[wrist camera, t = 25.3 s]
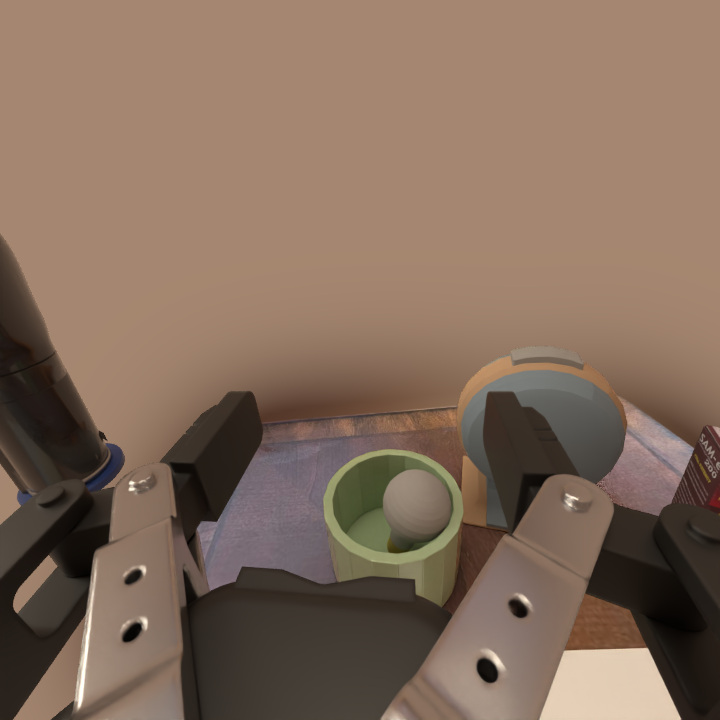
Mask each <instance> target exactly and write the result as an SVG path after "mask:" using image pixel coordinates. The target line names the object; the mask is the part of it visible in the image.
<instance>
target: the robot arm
mask: <svg viewBox="0 0 720 720" xmlns="http://www.w3.org/2000/svg"><path fill="white" fill-rule="evenodd" d="M262 435H263V428H262V423H261V420H260V416H259V412H258V408H257V404H256V400H255V396H254V394H253V393H252V392H250V391H243V392H242V391H237V392H236V391H231V392H228V393H227V394H226V395H225V397H224V398H223V399H222V400H221V401H220V403H219V404H218V405H215V406H213V407H212V408H210V409H209V410H207V411H206V412H204V413H202V414H201V415H200V417H199V418H198V419H197V420H196V421H195V422H194V424H193V426H191V427H190V428H189V429H188V430H187V431H186V434H184V435H183V436H182V437H181V438H180V439H179V440H178V441H177V443H176V444H175V445H174V446H173V447H172V448H171V449H170V450H169V452H168V453H167V454H166V455H165V456H164V457H163V458H162V460H161V461H160V462H159V463H151V464H147V465H144V466H141V467H139V468H137V469H135V470H133V471H131V472H130V473H128V474H127V475H125V476H124V477H123V478H122V479H121V480H120V481H119V482H118V483H117V485H116V486H115V487H112V488H107V489H102V490H98V491H93V492H90V491H89V490H88V488H87V486H86V484H88V483H90V482H91V481H93V480H94V479H95V478H97V477H98V476H99V475H100V474H102V473H103V472H104V471H105V470H106V468H107V467H108V466H109V464H110V462H111V460H112V454H111V452H110V450H109V448H108V447H107V446H106V444H105V442H104V440H103V439H105V440H107V439H106V437H105V435H104V433H102V432H100V431H99V430H98V429H97V427H96V425H95V423H94V421H93V419H92V417H91V416H90V414H89V412H88V410H87V408H86V406H85V404H84V402H83V400H82V399H81V397H80V395H79V393H78V391H77V389H76V387H75V386H74V383H73V382H72V380H71V378H70V376H69V374H68V372H67V370H66V369H65V367H64V365H63V363H62V361H61V359H60V357H59V355H58V354H57V351H56V350H55V348H54V346H53V344H52V342H51V340H50V337H49V333H48V330H47V326H46V323H45V320H44V318H43V316H42V314H41V312H40V310H39V308H38V306H37V303H36V301H35V299H34V297H33V295H32V292H31V290H30V288H29V286H28V283H27V281H26V279H25V276H24V274H23V272H22V269H21V267H20V265H19V263H18V261H17V259H16V257H15V255H14V253H13V252H12V250H11V248H10V246H9V245H8V243H7V242H6V240H5V239H4V238H3V237H2V235H1V234H0V464H1V465H2V467H3V468H4V469H5V471H6V472H7V474H8V475H9V476H10V478H11V479H12V480H13V482H14V483H15V485H16V486H17V487H18V489H19V490H20V491H21V493H22V494H30V495H31V496H33V497H31V498H30V499H29V500H28V501H27V502H26V503H24V504H23V505H22V506H21V507H20V508H19V509H18V510H17V511H15V512H14V513H13V514H12V515H11V516H10V517H9V518H8V519H6V520H5V521H4V522H3V523H2V524H1V525H0V720H13V719H14V717H15V716H16V715H17V713H18V712H19V710H20V709H21V707H22V706H23V704H24V703H25V701H26V700H27V699H28V697H29V696H30V694H31V693H32V691H33V690H34V688H35V687H36V686H37V684H38V683H39V681H40V680H41V678H42V677H43V675H44V674H45V673H46V671H47V670H48V668H49V667H50V665H51V664H52V662H53V661H54V660H55V658H56V657H57V655H58V654H59V652H60V651H61V649H62V648H63V646H64V645H65V643H66V642H67V641H68V639H69V638H70V636H71V635H72V633H73V632H74V630H75V629H76V628H77V626H78V625H79V623H80V622H81V620H82V619H83V618H84V616H85V615H86V618H85V626H84V633H83V641H82V648H81V656H80V663H79V671H78V678H77V685H76V693H75V700H74V701H73V702H71V703H70V704H69V705H68V706H67V707H66V708H64V709H63V710H62V711H61V712H59V713H58V714H57V715H56V716H55V717H54V718H52V719H51V720H539V719H540V716H541V714H542V711H543V708H544V705H545V703H546V700H547V697H548V694H549V691H550V689H551V686H552V683H553V680H554V678H555V675H556V672H557V669H558V667H559V664H560V661H561V658H562V655H563V653H564V650H565V647H566V644H567V642H568V639H569V636H570V633H571V630H572V628H573V625H574V622H575V619H576V617H577V614H578V611H579V608H580V606H581V603H582V600H583V597H584V594H585V593H586V594H589V595H591V596H594V597H597V598H599V599H602V600H605V601H607V602H610V603H613V604H615V605H618V606H621V607H624V608H626V609H629V610H630V611H631V613H632V615H633V617H634V620H635V622H636V624H637V626H638V628H639V630H640V632H641V635H642V637H643V639H644V641H645V643H646V645H647V647H648V650H649V652H650V654H651V656H652V658H653V660H654V662H655V664H656V667H657V669H658V671H659V673H660V675H661V677H662V679H663V682H664V684H665V686H666V688H667V690H668V692H669V694H670V697H671V699H672V701H673V703H674V705H675V707H676V709H677V712H678V714H679V716H680V718H681V720H720V515H719V514H717V513H715V512H712V511H710V510H708V509H705V508H702V507H699V506H695V505H691V504H684V503H675V504H670V505H667V506H665V507H664V508H663V509H662V511H661V513H660V515H659V516H656V515H652V514H648V513H644V512H641V511H637V510H633V509H629V508H626V507H623V506H619V505H617V504H614V503H612V501H611V499H610V497H609V496H608V495H607V494H606V493H605V492H604V491H603V490H602V489H601V488H600V487H598V486H597V485H596V484H594V483H592V482H590V481H588V480H586V479H584V478H581V477H580V475H579V473H578V472H577V470H576V468H575V467H574V465H573V463H572V462H571V460H570V458H569V457H568V455H567V453H566V452H565V450H564V448H563V447H562V445H561V443H560V441H558V438H557V436H556V435H555V433H554V431H552V428H551V426H550V425H549V423H548V421H547V420H546V418H545V417H544V416H543V415H542V414H540V413H539V412H538V411H536V410H535V409H534V408H533V407H522V406H521V405H520V403H519V401H518V399H517V397H516V395H515V393H514V392H513V391H488V393H487V397H486V406H485V415H484V425H483V444H484V449H485V452H486V456H487V459H488V462H489V466H490V469H491V473H492V476H493V479H494V483H495V486H496V489H497V493H498V496H499V499H500V503H501V506H502V509H503V513H504V516H505V520H506V523H507V526H508V530H509V533H510V534H509V533H506V534H505V535H504V536H503V537H502V539H501V540H500V542H499V543H498V545H497V547H496V548H495V550H494V551H493V553H492V554H491V556H490V558H489V559H488V561H487V562H486V564H485V566H484V567H483V569H482V570H481V572H480V574H479V575H478V577H477V578H476V580H475V581H474V583H473V585H472V586H471V588H470V589H469V591H468V593H467V594H466V596H465V597H464V599H463V601H462V602H461V604H460V605H459V607H458V608H457V610H456V612H455V613H454V615H453V616H452V615H451V614H450V613H449V612H448V611H446V610H445V609H443V608H442V607H440V606H439V605H437V604H436V603H434V602H432V601H430V600H428V599H426V598H424V597H421V596H419V595H416V586H415V579H406V578H392V577H378V576H368V577H362V578H357V579H352V580H347V581H342V582H337V583H332V584H325V585H324V584H319V583H316V582H313V581H311V580H308V579H306V578H303V577H300V576H298V575H295V574H293V573H290V572H287V571H285V570H282V569H268V568H254V567H242V568H241V570H240V572H239V575H238V577H237V580H236V582H233V583H229V584H226V585H223V586H220V587H218V588H216V589H214V590H211V591H210V590H209V585H208V580H207V575H206V569H205V564H204V558H203V553H202V547H201V542H200V536H199V533H198V530H197V527H198V526H199V524H200V522H201V521H212V522H217V521H218V519H219V517H220V515H221V514H222V512H223V510H224V508H225V506H226V505H227V503H228V501H229V499H230V497H231V496H232V494H233V492H234V490H235V488H236V487H237V485H238V483H239V481H240V479H241V478H242V476H243V474H244V472H245V470H246V469H247V467H248V465H249V463H250V462H251V460H252V458H253V456H254V454H255V453H256V451H257V449H258V447H259V445H260V443H261V440H262ZM48 555H49V556H50V557H51V558H52V559H53V561H54V562H55V563H56V565H57V566H58V567H57V568H56V569H55V570H54V571H53V573H52V574H51V575H50V576H49V577H48V578H47V580H46V581H45V582H44V583H43V584H42V585H41V587H40V588H39V589H38V590H37V591H36V592H35V594H34V595H33V596H32V597H31V598H30V600H29V601H28V602H27V603H26V604H25V605H24V607H23V608H22V609H21V610H20V611H19V613H18V614H17V613H16V612H15V611H14V608H13V600H14V596H15V594H16V592H17V590H18V589H19V587H20V586H21V585H22V583H24V581H25V580H26V579H27V578H28V577H29V576H30V575H31V574H32V573H33V571H34V570H35V569H36V568H37V567H38V566H39V565H40V563H42V561H43V560H44V559H45V558H46V557H47V556H48Z"/></svg>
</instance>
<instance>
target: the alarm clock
mask: <svg viewBox="0 0 720 720" xmlns="http://www.w3.org/2000/svg"><path fill="white" fill-rule="evenodd" d="M488 391H513V392H514V393H515V395H516V397H517V399H518V401H519V403H520V405H521V406H522V407H533V408H534V409H535V410H536V411H538V412H539V413H540V414H542V415H543V416H544V417H545V418H546V420H547V421H548V423H549V425H550V426H551V428H552V431H554V433H555V435H556V436H557V438H558V441H560V443H561V445H562V447H563V448H564V450H565V452H566V453H567V455H568V457H569V458H570V460H571V462H572V463H573V465H574V467H575V468H576V470H577V472H578V473H579V475H580V477H581V478H584V479H586V480H588V481H590V482H592V483H594V484H596V483H597V482H599V481H600V480H601V479H603V478H604V477H605V476H606V475H607V474H608V473H609V472H610V471H611V470H612V469H613V467H614V466H615V464H616V462H617V460H618V459H619V457H620V455H621V453H622V451H623V448H624V441H625V435H626V428H627V420H626V416H625V412H624V408H623V405H622V403H621V402H620V400H619V399H618V397H617V396H616V394H615V392H614V391H613V390H612V388H611V387H610V385H609V384H608V382H607V381H606V379H605V378H604V377H603V376H602V375H601V374H600V373H599V372H597V371H596V370H595V369H593V368H592V367H591V366H589V365H588V364H587V363H584V362H583V361H582V359H581V357H580V355H579V354H578V353H575V352H572V351H569V350H566V349H561V348H557V347H549V346H532V347H524V348H519V349H515V350H512V351H511V354H509V355H506V356H502V357H500V358H498V359H496V360H494V361H493V362H491V363H489V364H487V365H486V366H485V367H483V368H482V369H481V370H480V371H479V372H478V373H476V375H474V376H473V377H472V378H471V379H470V380H469V381H468V383H467V385H466V386H465V388H464V390H463V391H462V393H461V396H460V400H459V404H458V409H457V421H456V422H457V431H458V437H459V440H460V442H461V444H462V446H463V449H464V451H465V452H466V453H467V455H468V456H463V467H462V491H461V493H462V500H463V509H464V515H463V523H464V524H469V525H474V526H479V527H485V528H490V529H495V530H500V531H505V532H509V530H508V526H507V523H506V520H505V516H504V513H503V509H502V506H501V503H500V499H499V496H498V493H497V489H496V486H495V483H494V479H493V476H492V473H491V469H490V466H489V462H488V459H487V456H486V452H485V449H484V444H483V425H484V415H485V406H486V397H487V393H488Z"/></svg>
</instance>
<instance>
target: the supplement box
mask: <svg viewBox="0 0 720 720" xmlns="http://www.w3.org/2000/svg"><path fill="white" fill-rule="evenodd" d="M675 503H684V504H691V505H695V506H699V507H702V508H705V509H708V510H710V511H712V512H715V513H717V514H719V515H720V428H718V427H714V426H708V425H706V426H705V427H703V430H702V432H701V434H700V438H699V440H698V442H697V444H696V446H695V449H694V451H693V453H692V456H691V458H690V461H689V463H688V465H687V468H686V470H685V473H684V475H683V477H682V479H681V482H680V484H679V486H678V489H677V491H676V493H675V496H674V498H673V500H672V503H671V504H675Z"/></svg>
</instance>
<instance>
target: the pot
mask: <svg viewBox="0 0 720 720" xmlns="http://www.w3.org/2000/svg"><path fill="white" fill-rule="evenodd" d="M412 469H417V470H424V471H427V472H429V473H431V474H433V475H434V476H436V477H437V478H438V479H439V480H440V481H441V482H442V483H443V485H444V486H445V487H446V489H447V491H448V494H449V497H450V501H451V516H450V520H449V522H448V524H447V526H446V528H445V530H444V531H443V532H442V533H441V534H440V535H439V536H438V537H436V538H435V539H433V540H432V541H429V542H425V543H415V544H414V545H413V547H412V548H410V551H409V552H404V553H399V554H394V553H389V551H388V549H387V542H388V539H389V537H390V532H391V528H390V526H389V525H388V523H387V521H386V518H385V516H384V511H383V498H384V494H385V491H386V488H387V486H388V484H389V483H390V481H391V480H392V479H393V478H394V477H396V476H397V475H398V474H400V473H402V472H404V471H407V470H412ZM323 505H324V519H325V524H326V530H327V535H328V541H329V546H330V552H331V558H332V563H333V569H334V573H335V576H336V579H337V582H342V581H347V580H352V579H357V578H362V577H368V576H378V577H392V578H406V579H415V586H416V595H419V596H421V597H424V598H426V599H428V600H430V601H432V602H434V603H436V604H437V605H439V606H440V607H442V606H443V605H444V604H445V603H446V601H447V600H448V599H449V597H450V595H451V593H452V592H453V589H454V587H455V584H456V580H457V574H458V569H459V560H460V549H461V538H462V526H463V515H464V509H463V500H462V493H461V491H460V489H459V487H458V485H457V483H456V482H455V480H454V478H453V477H452V476H451V475H450V474H449V473H448V472H447V471H446V470H445V469H444V468H443V467H442V466H441V465H440V464H439V463H437V462H435V461H433V460H432V459H430V458H428V457H426V456H425V455H421V454H418V453H414V452H411V451H407V450H393V449H385V450H379V451H372V452H368V453H366V454H364V455H361V456H359V457H356V458H354V459H352V460H351V461H350V462H348V463H347V464H345V465H344V466H343V467H341V468H340V469H339V470H338V471H337V472H336V474H335V475H334V476H333V478H332V479H331V480H330V482H329V483H328V486H327V489H326V492H325V495H324V499H323Z"/></svg>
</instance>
